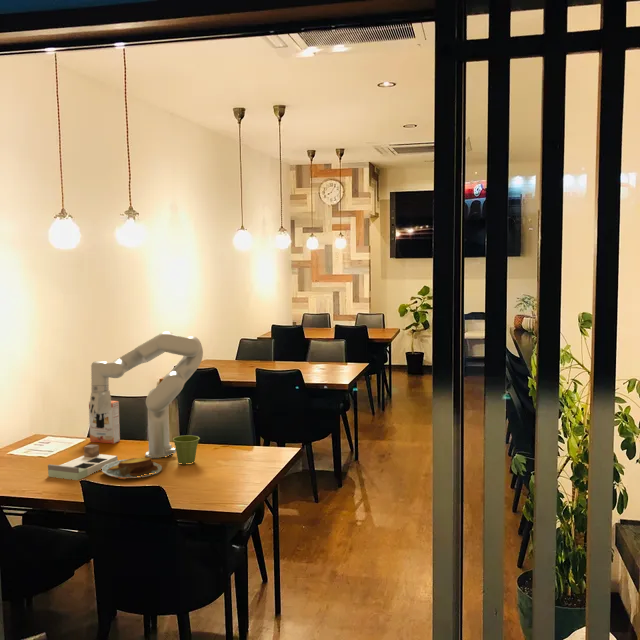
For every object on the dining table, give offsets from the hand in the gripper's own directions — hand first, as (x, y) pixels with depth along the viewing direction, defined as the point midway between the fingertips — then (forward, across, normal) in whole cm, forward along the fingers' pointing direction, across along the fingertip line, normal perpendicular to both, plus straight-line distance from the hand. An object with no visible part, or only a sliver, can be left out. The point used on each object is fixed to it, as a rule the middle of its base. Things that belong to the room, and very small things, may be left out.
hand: (100, 427), depth 304 cm
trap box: (+14, -17, -5) cm, 23 cm away
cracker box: (+15, +25, +17) cm, 34 cm away
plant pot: (+13, +6, -42) cm, 45 cm away
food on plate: (+14, -14, -27) cm, 34 cm away
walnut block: (+11, -7, -1) cm, 13 cm away
